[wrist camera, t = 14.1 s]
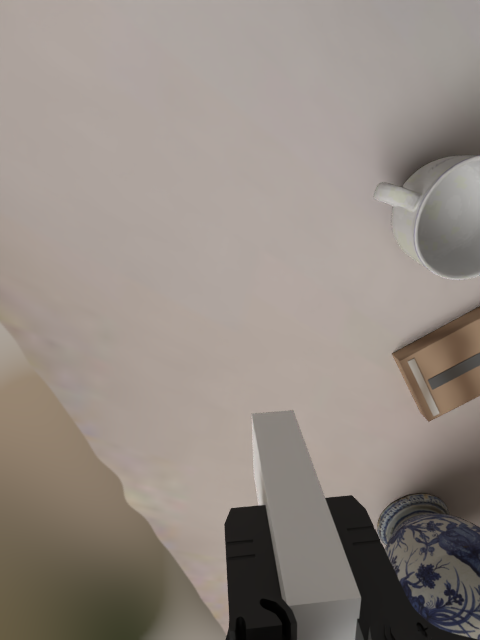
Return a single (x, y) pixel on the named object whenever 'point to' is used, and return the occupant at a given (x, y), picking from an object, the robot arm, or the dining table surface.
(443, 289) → the dining table surface
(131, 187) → the dining table surface
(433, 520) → the decorative vase
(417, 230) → the teacup
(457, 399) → the fader track
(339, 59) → the dining table surface
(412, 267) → the dining table surface
